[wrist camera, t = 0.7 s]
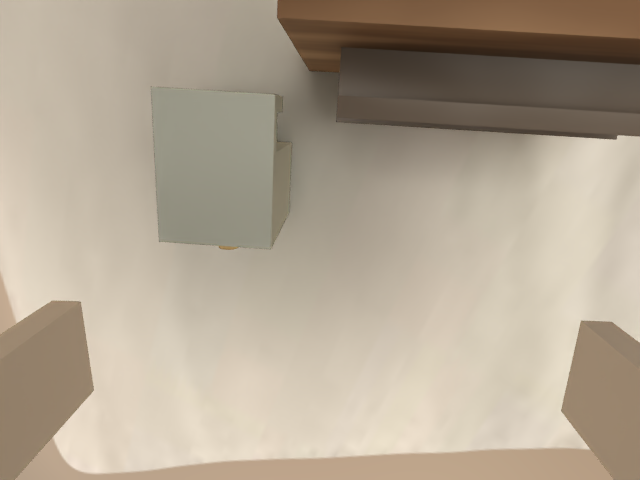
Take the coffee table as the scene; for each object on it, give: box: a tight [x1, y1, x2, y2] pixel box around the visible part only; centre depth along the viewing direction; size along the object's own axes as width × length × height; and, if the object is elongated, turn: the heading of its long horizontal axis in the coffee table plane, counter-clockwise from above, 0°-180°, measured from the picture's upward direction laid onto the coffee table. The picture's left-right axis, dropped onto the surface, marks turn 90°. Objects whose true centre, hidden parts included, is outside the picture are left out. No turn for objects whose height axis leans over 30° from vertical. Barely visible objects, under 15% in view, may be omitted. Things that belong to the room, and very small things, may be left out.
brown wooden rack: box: [277, 0, 640, 139], centre depth 20 cm, size 8×18×16 cm, turn 87°
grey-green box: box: [151, 87, 292, 250], centre depth 26 cm, size 9×6×9 cm
